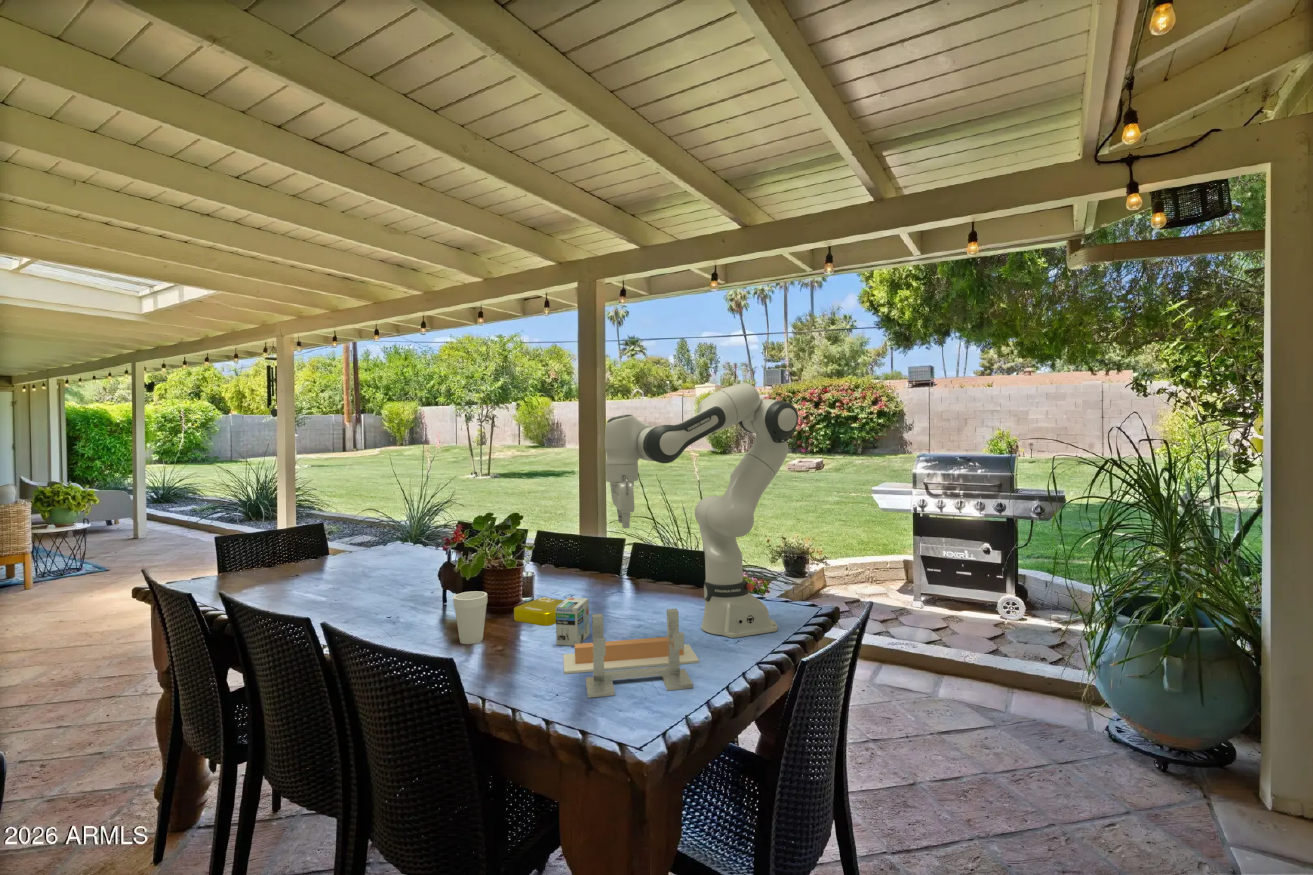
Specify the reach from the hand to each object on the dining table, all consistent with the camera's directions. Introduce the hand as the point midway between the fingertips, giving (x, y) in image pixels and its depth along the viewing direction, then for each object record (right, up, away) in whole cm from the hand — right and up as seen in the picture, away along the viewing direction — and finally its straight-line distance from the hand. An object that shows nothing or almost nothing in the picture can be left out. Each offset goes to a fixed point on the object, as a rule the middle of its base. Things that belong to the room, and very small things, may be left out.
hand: (623, 525), depth 166 cm
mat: (+2, -34, -8) cm, 35 cm away
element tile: (-27, -35, +31) cm, 54 cm away
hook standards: (+5, -34, -25) cm, 42 cm away
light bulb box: (-15, -34, +9) cm, 38 cm away
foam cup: (-45, -35, +10) cm, 57 cm away
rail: (+2, -33, -8) cm, 34 cm away
